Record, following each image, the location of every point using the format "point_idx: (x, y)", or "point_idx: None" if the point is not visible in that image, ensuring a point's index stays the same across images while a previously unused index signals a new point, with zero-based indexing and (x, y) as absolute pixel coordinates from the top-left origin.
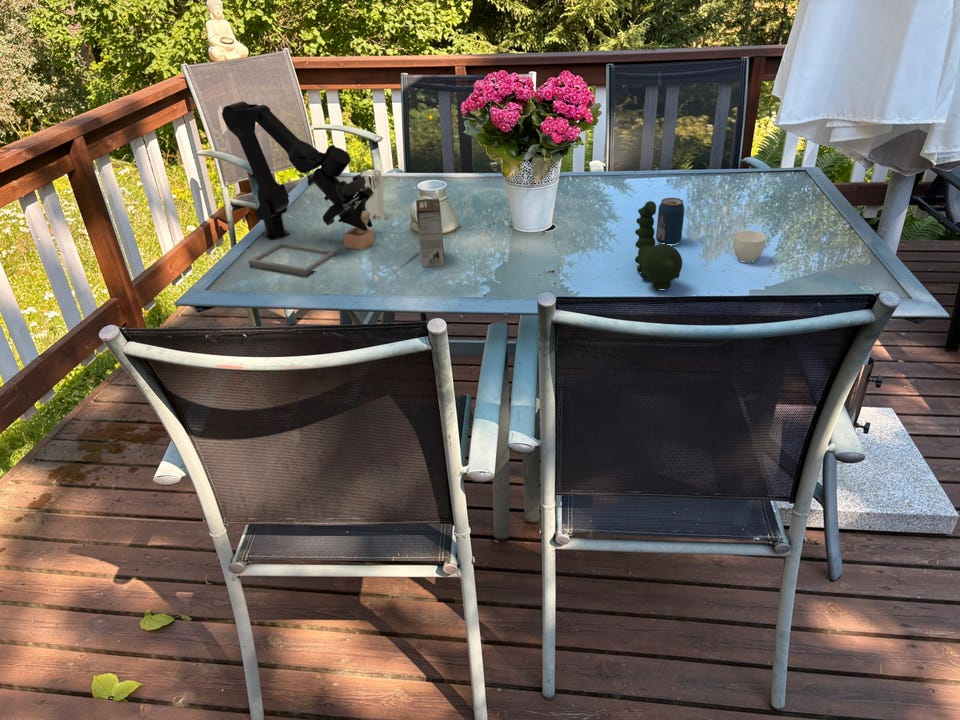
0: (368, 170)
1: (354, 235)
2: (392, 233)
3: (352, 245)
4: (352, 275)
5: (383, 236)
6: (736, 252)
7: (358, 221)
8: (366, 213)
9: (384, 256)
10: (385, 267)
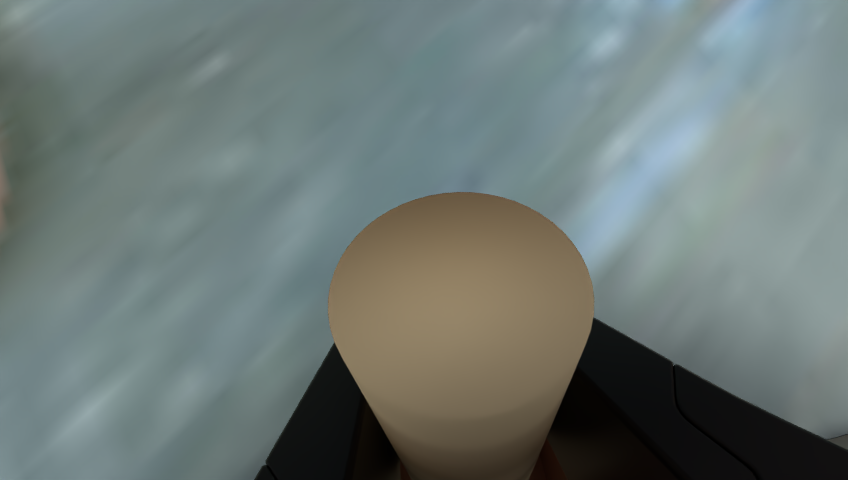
0: None
1: None
2: (42, 454)
3: None
4: (826, 105)
5: (139, 476)
6: None
7: (653, 363)
8: (457, 273)
9: (468, 149)
10: (593, 21)
